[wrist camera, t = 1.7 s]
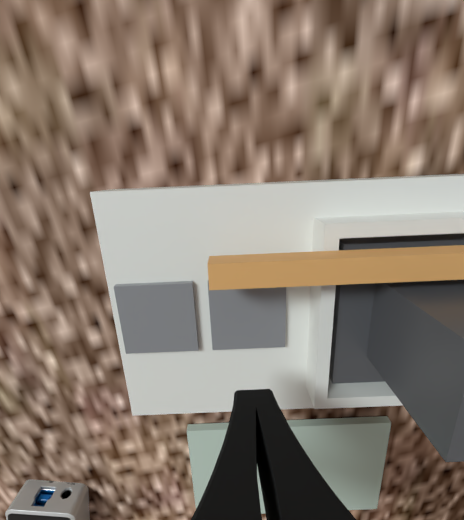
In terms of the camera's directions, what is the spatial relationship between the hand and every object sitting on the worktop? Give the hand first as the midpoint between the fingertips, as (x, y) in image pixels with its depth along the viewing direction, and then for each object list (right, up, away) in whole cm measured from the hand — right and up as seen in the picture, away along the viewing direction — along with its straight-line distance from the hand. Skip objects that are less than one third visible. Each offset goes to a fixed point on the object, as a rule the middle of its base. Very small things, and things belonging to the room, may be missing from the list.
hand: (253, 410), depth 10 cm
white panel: (+5, +4, +5) cm, 8 cm away
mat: (+3, -9, +9) cm, 13 cm away
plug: (+7, +3, +3) cm, 9 cm away
